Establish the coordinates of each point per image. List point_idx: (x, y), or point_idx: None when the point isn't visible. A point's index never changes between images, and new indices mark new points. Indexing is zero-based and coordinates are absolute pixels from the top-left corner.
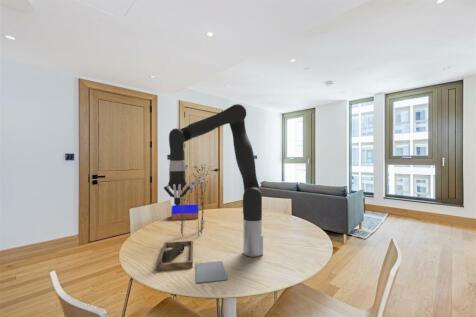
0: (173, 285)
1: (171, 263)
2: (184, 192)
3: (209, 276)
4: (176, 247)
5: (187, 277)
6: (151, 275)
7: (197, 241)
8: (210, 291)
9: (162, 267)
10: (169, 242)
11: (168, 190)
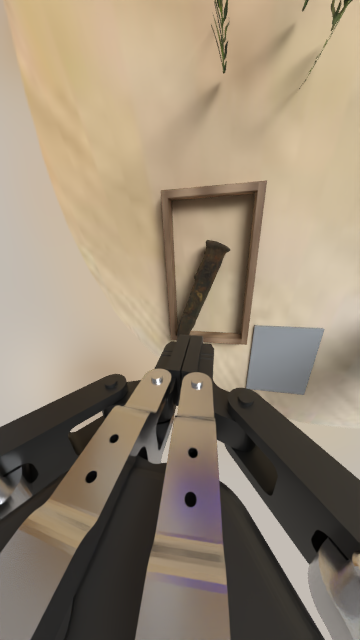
0: None
1: None
2: (269, 489)
3: (273, 379)
4: (206, 281)
5: (232, 368)
6: None
7: (288, 137)
8: None
9: None
10: (177, 193)
11: (49, 483)
